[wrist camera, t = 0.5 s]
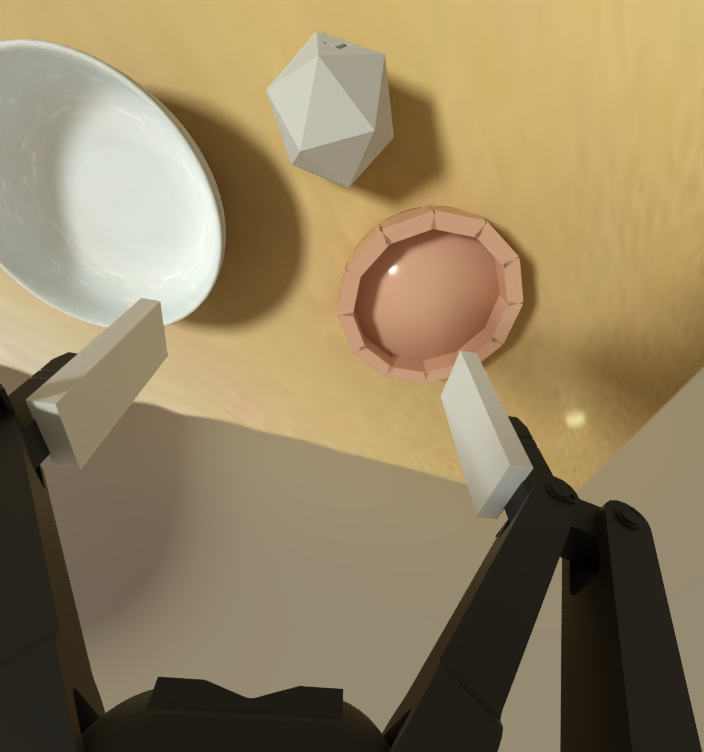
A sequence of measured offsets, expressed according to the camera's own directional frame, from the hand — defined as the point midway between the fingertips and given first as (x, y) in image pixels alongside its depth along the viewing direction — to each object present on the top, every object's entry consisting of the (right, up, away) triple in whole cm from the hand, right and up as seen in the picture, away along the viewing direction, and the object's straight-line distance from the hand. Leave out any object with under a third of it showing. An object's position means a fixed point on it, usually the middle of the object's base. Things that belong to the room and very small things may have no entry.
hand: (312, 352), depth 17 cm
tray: (+10, +8, +23) cm, 27 cm away
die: (0, +21, +15) cm, 26 cm away
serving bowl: (-19, +16, +18) cm, 31 cm away
